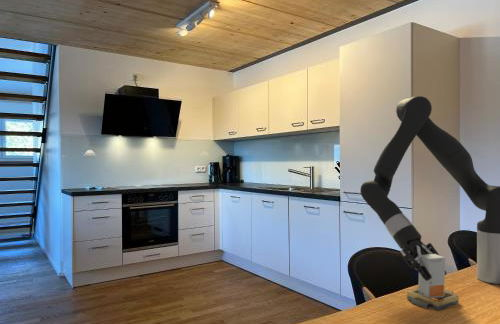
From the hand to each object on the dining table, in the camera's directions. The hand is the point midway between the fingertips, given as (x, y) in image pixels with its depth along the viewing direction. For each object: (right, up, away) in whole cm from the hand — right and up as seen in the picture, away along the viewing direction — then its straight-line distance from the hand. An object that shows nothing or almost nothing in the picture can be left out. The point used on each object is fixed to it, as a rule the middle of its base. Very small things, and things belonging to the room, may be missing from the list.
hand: (436, 277), depth 107 cm
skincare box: (-1, -6, +1) cm, 6 cm away
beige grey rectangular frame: (-1, -8, +1) cm, 8 cm away
